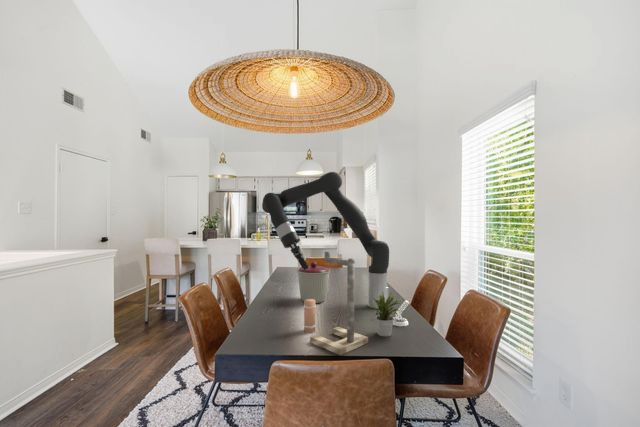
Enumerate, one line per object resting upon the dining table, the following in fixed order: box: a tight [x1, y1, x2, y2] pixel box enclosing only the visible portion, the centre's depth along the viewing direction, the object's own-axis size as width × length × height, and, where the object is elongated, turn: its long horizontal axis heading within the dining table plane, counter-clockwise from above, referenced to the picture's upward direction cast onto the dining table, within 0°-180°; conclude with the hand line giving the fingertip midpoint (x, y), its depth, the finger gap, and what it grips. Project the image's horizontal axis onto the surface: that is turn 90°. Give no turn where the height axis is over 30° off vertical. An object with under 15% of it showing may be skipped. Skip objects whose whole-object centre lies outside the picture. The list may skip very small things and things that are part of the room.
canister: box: [296, 261, 331, 304], centre depth 168 cm, size 18×18×21 cm
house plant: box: [368, 291, 401, 337], centre depth 120 cm, size 14×14×16 cm
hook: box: [393, 300, 410, 327], centre depth 134 cm, size 8×12×7 cm
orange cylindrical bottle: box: [303, 299, 317, 334], centre depth 124 cm, size 5×5×12 cm
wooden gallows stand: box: [309, 251, 369, 356], centre depth 113 cm, size 14×15×32 cm
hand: (305, 267), depth 132 cm, fingers open, 8 cm apart
